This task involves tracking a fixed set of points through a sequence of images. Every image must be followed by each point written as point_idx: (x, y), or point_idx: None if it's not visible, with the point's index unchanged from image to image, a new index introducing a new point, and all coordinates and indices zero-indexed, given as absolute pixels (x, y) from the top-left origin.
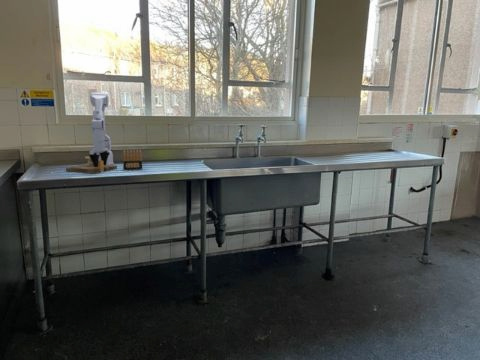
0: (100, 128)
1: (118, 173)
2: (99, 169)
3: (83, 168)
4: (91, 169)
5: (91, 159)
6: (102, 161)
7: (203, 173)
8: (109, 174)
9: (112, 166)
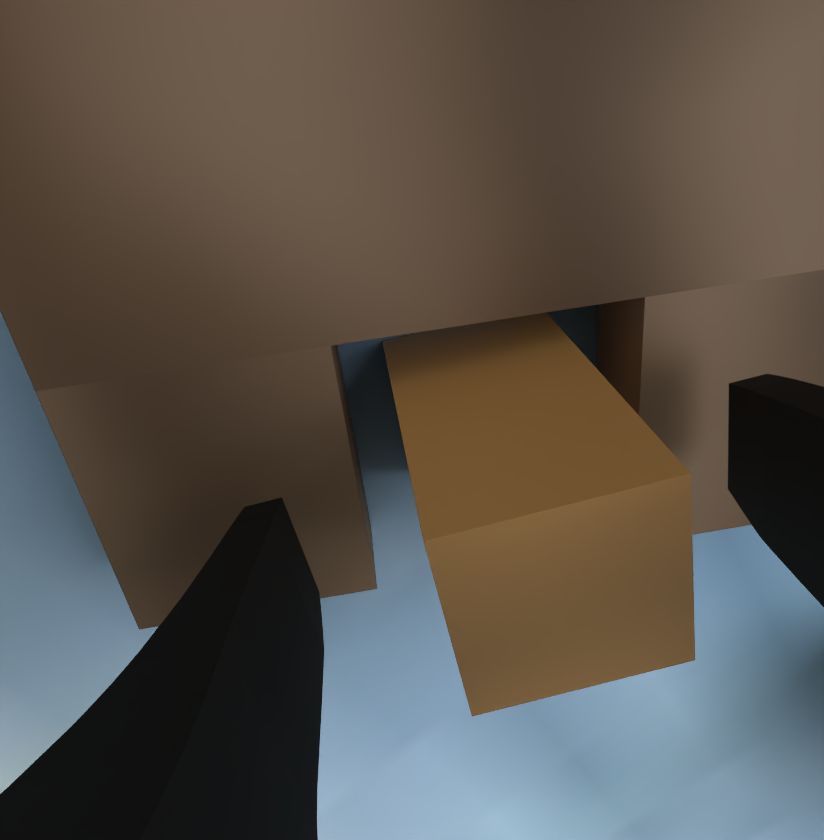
0: None
1: (474, 797)
2: (320, 591)
3: (15, 95)
4: (118, 501)
5: (68, 747)
6: (621, 650)
7: None
8: None
9: None
